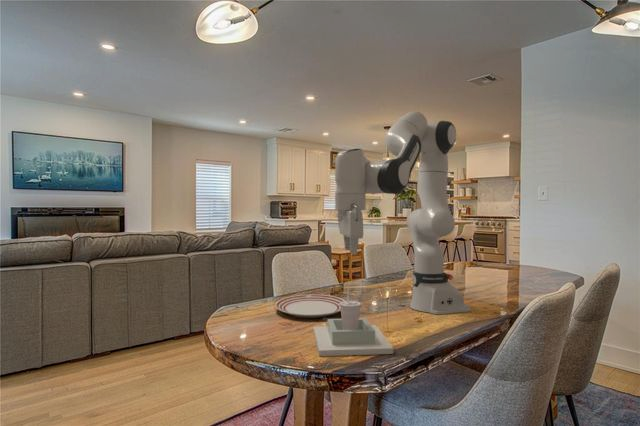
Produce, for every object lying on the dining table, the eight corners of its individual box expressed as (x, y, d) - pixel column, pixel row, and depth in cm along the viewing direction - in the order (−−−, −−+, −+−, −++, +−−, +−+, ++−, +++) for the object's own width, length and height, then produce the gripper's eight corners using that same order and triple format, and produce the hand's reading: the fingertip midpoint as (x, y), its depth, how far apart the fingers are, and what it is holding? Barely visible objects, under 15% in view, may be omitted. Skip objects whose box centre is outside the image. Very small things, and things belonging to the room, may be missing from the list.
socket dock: (375, 329, 120) (375, 314, 120) (393, 353, 100) (393, 335, 100) (313, 331, 119) (313, 315, 118) (319, 356, 99) (319, 337, 99)
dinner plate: (341, 324, 126) (341, 314, 126) (264, 319, 132) (264, 310, 132) (351, 304, 153) (351, 296, 153) (287, 300, 159) (287, 292, 159)
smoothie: (337, 332, 112) (338, 286, 112) (358, 332, 113) (359, 286, 113) (340, 340, 106) (341, 291, 106) (363, 339, 107) (363, 290, 106)
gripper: (369, 204, 99) (369, 256, 99) (354, 204, 119) (354, 247, 119) (345, 204, 98) (345, 256, 98) (335, 204, 119) (335, 248, 119)
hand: (350, 251), depth 109 cm, fingers open, 8 cm apart
